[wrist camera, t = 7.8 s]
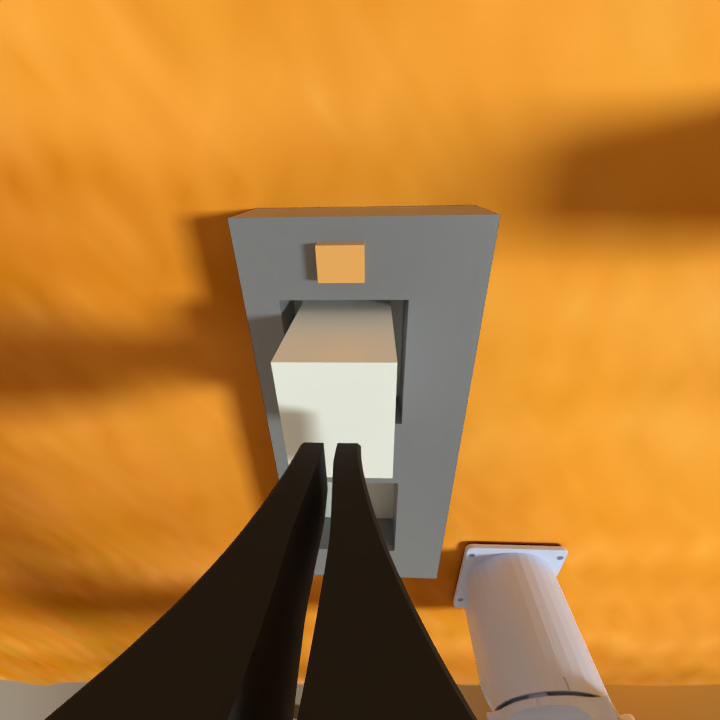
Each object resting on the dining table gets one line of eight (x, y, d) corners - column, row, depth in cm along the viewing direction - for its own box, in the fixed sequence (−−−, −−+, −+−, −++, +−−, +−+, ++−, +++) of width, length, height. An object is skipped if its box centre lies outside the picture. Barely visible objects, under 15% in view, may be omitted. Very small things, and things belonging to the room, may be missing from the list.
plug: (387, 383, 19) (392, 478, 13) (316, 383, 19) (290, 476, 13) (389, 293, 16) (397, 362, 10) (307, 294, 16) (270, 362, 11)
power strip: (429, 532, 27) (437, 587, 24) (306, 529, 27) (295, 583, 24) (475, 205, 15) (505, 216, 12) (256, 208, 16) (221, 220, 12)
